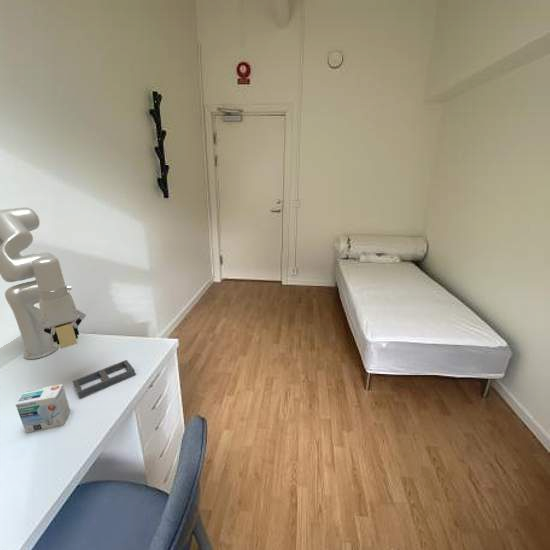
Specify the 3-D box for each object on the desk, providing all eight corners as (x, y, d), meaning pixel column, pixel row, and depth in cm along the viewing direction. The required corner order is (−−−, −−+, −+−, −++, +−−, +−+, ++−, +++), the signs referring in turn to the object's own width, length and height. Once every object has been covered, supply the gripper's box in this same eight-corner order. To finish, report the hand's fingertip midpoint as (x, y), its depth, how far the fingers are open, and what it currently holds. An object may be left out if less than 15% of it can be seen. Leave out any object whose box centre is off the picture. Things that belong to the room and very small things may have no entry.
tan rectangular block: (59, 343, 115) (53, 323, 113) (74, 338, 118) (69, 318, 116) (61, 348, 112) (55, 328, 109) (77, 343, 115) (71, 323, 112)
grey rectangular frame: (74, 386, 117) (72, 381, 116) (127, 365, 129) (126, 359, 128) (79, 399, 110) (77, 393, 110) (135, 375, 122) (134, 369, 121)
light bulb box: (25, 433, 97) (14, 404, 93) (34, 417, 103) (24, 390, 99) (64, 425, 99) (55, 397, 96) (71, 410, 105) (63, 383, 102)
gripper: (79, 283, 116) (91, 328, 122) (22, 297, 106) (37, 344, 112) (84, 289, 111) (96, 335, 117) (23, 303, 101) (39, 353, 107)
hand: (67, 339), depth 114 cm, fingers closed on tan rectangular block, 5 cm apart
